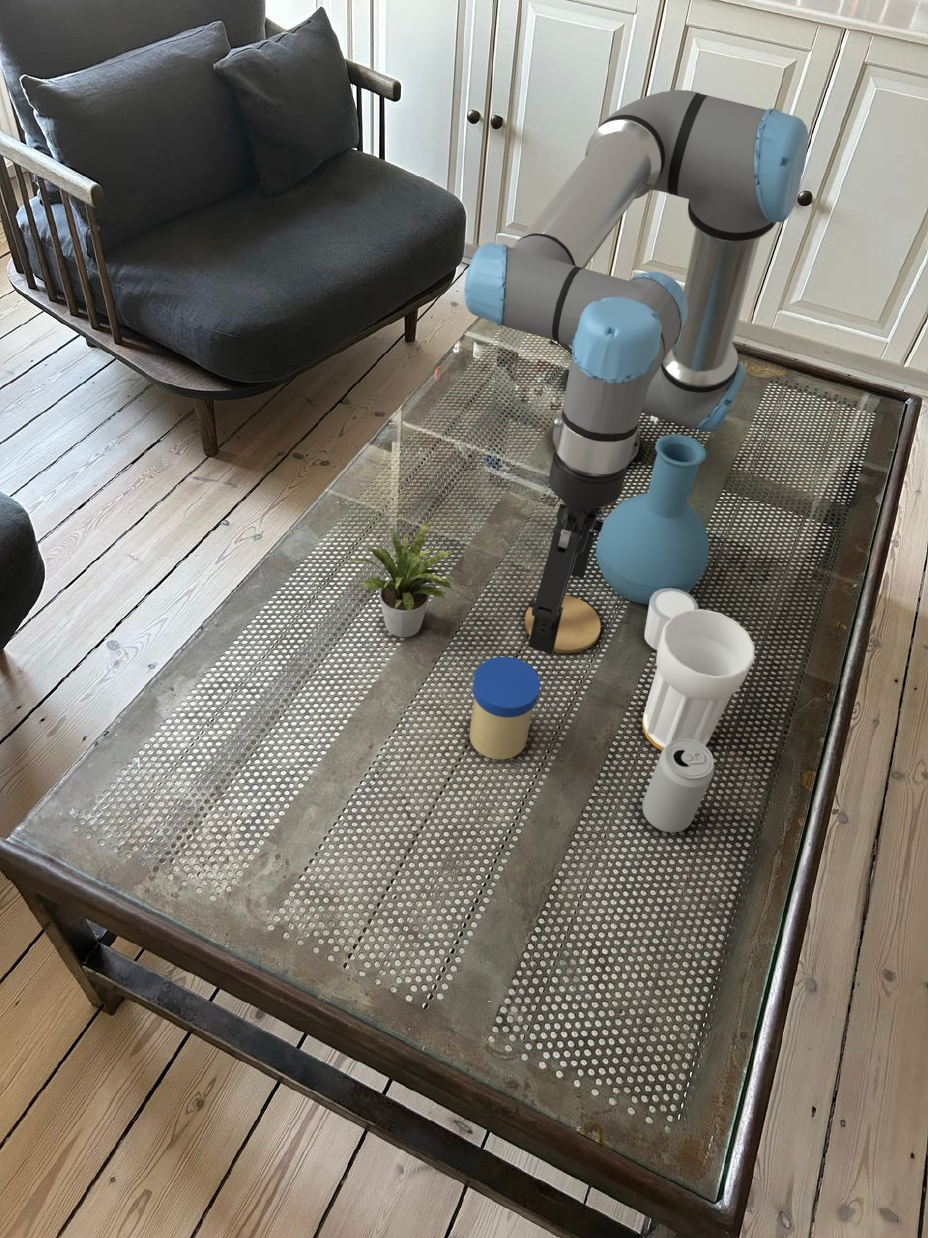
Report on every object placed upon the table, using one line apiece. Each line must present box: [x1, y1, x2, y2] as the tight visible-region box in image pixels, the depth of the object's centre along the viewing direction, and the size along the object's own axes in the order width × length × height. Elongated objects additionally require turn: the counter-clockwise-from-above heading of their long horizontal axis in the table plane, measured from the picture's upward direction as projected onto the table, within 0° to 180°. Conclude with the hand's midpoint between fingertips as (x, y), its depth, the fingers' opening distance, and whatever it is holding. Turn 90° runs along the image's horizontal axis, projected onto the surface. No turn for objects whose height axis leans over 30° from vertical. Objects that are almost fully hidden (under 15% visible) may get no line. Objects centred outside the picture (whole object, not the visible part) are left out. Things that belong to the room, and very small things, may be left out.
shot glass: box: [644, 588, 699, 651], centre depth 140 cm, size 7×7×7 cm
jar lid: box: [472, 656, 541, 717], centre depth 121 cm, size 8×8×2 cm
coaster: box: [524, 594, 602, 654], centre depth 143 cm, size 11×11×1 cm
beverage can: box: [641, 738, 715, 833], centre depth 118 cm, size 6×6×12 cm
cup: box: [641, 608, 756, 752], centre depth 125 cm, size 11×11×17 cm
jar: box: [468, 697, 535, 760], centre depth 125 cm, size 8×8×11 cm
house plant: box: [346, 520, 459, 638], centre depth 134 cm, size 14×14×16 cm
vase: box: [595, 433, 710, 606], centre depth 142 cm, size 16×16×25 cm
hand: (557, 609), depth 113 cm, fingers open, 13 cm apart
